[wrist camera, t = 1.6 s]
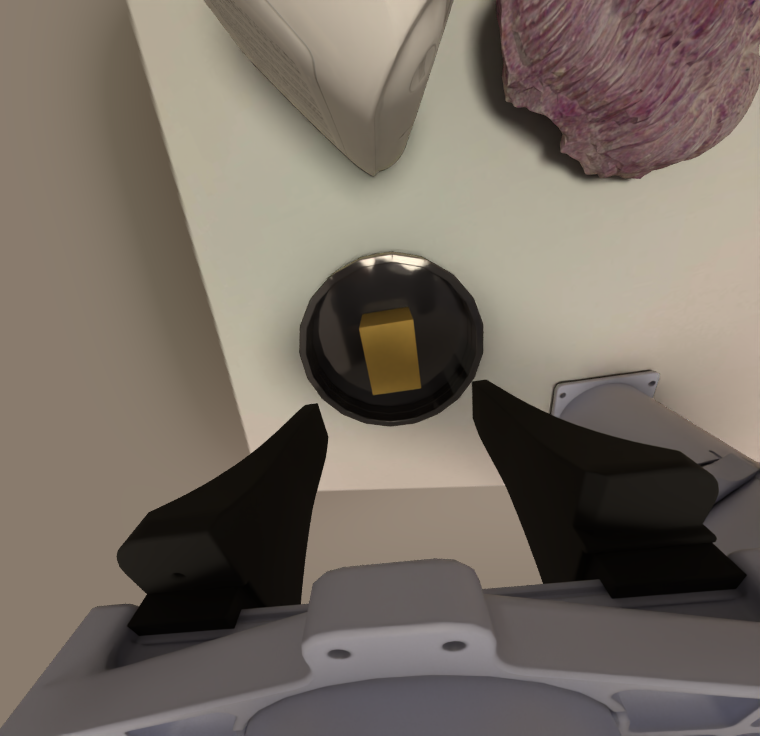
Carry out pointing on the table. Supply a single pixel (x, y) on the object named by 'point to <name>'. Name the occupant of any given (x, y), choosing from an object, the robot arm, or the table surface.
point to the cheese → (390, 350)
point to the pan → (432, 333)
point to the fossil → (632, 75)
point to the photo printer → (345, 64)
